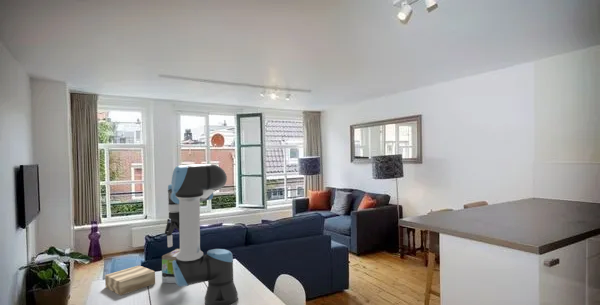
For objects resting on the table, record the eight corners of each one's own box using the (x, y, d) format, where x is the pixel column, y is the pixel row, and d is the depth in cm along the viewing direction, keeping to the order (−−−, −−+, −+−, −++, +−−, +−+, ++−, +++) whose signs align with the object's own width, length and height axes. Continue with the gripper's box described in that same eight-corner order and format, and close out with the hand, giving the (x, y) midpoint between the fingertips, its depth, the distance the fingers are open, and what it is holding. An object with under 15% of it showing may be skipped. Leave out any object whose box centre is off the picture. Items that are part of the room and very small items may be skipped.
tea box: (178, 283, 173) (177, 256, 173) (161, 283, 175) (160, 255, 175) (192, 273, 187) (192, 248, 188) (177, 273, 189) (176, 248, 190)
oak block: (155, 284, 174) (154, 271, 174) (120, 296, 160) (120, 282, 160) (139, 277, 185) (139, 265, 185) (105, 288, 171) (105, 275, 171)
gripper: (194, 212, 177) (195, 250, 177) (169, 208, 192) (170, 243, 192) (182, 214, 171) (183, 253, 171) (157, 210, 186) (158, 246, 186)
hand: (176, 248), depth 181 cm, fingers open, 13 cm apart
